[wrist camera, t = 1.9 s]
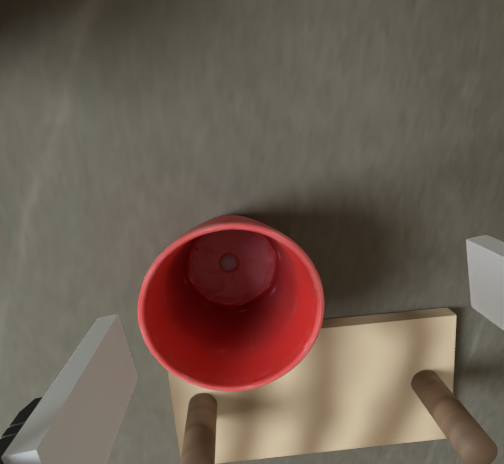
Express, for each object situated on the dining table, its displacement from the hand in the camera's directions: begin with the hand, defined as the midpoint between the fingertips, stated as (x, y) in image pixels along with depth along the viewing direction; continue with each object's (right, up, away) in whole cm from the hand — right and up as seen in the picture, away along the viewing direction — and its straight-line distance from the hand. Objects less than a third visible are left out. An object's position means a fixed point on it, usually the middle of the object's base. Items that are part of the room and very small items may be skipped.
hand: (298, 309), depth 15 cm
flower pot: (-3, +1, +18) cm, 18 cm away
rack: (+4, -11, +21) cm, 24 cm away
